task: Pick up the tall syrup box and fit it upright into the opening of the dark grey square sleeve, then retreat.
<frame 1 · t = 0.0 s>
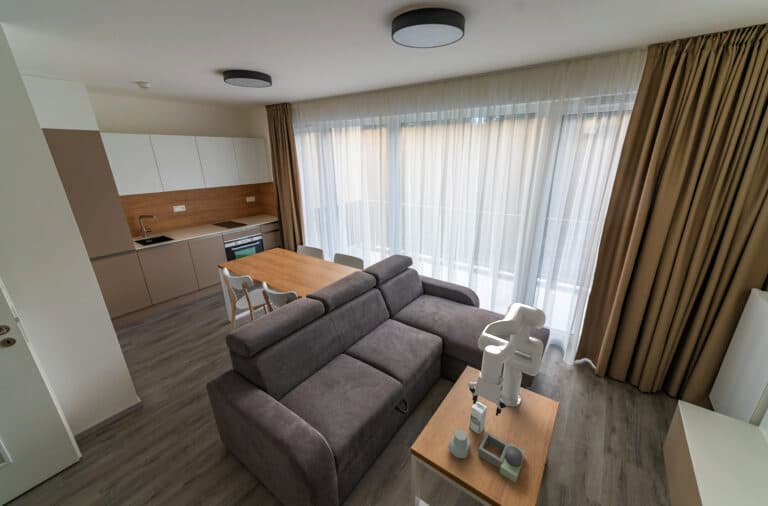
hand: (486, 407, 122), 31 cm above the table, tool pointing down, fingers open, 9 cm apart
air freshener: (459, 450, 136), on the table
syrup box: (476, 428, 147), on the table
grey square sleeve: (492, 453, 135), on the table
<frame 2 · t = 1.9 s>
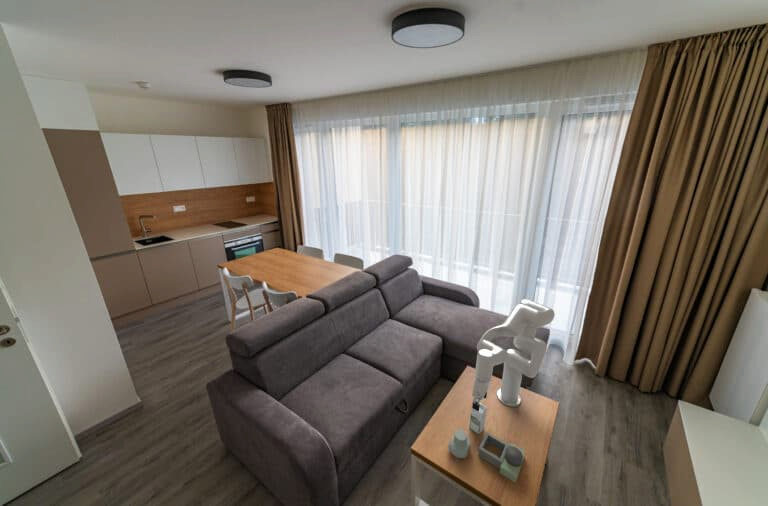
hand: (479, 403, 141), 17 cm above the table, tool pointing down, fingers open, 9 cm apart
nothing on the table moved.
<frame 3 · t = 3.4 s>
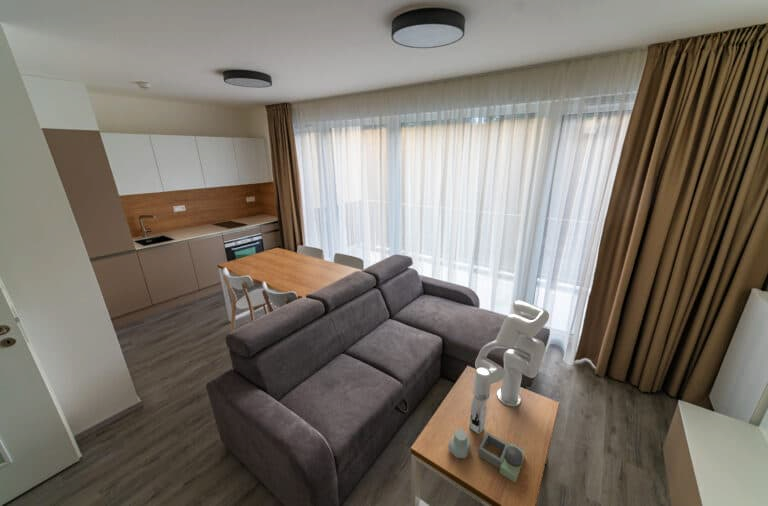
hand: (477, 419, 145), 6 cm above the table, tool pointing down, fingers closed on syrup box, 6 cm apart
syrup box: (476, 428, 147), on the table, touching gripper
everything else where it was.
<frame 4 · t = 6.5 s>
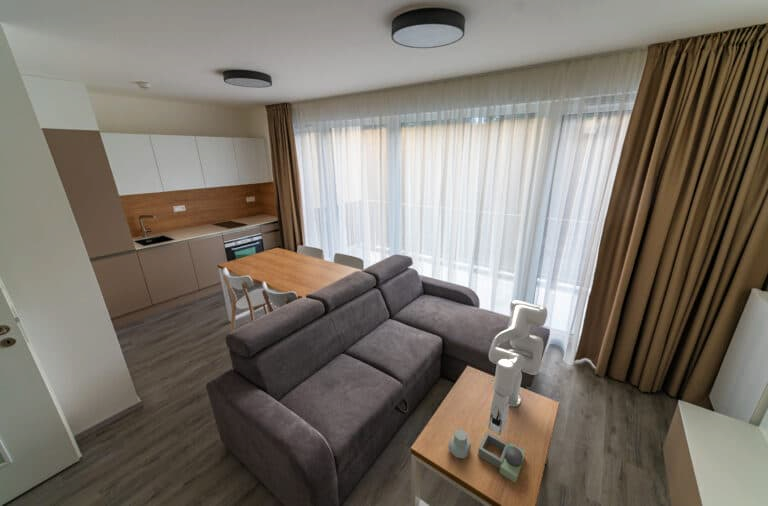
hand: (498, 418, 128), 21 cm above the table, tool pointing down, fingers closed on syrup box, 6 cm apart
syrup box: (496, 428, 130), point 15 cm above the table, touching gripper
everything else where it was.
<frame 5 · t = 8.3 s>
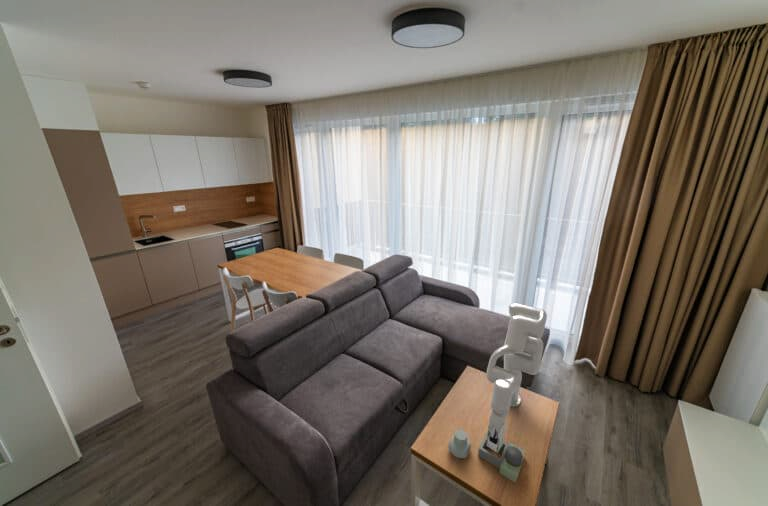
hand: (495, 436, 131), 11 cm above the table, tool pointing down, fingers closed on syrup box, 6 cm apart
syrup box: (494, 445, 133), point 5 cm above the table, touching gripper
everything else where it was.
when the fingers open (8 cm above the table, at t = 9.5 s): syrup box drops 2 cm, resting in grey square sleeve.
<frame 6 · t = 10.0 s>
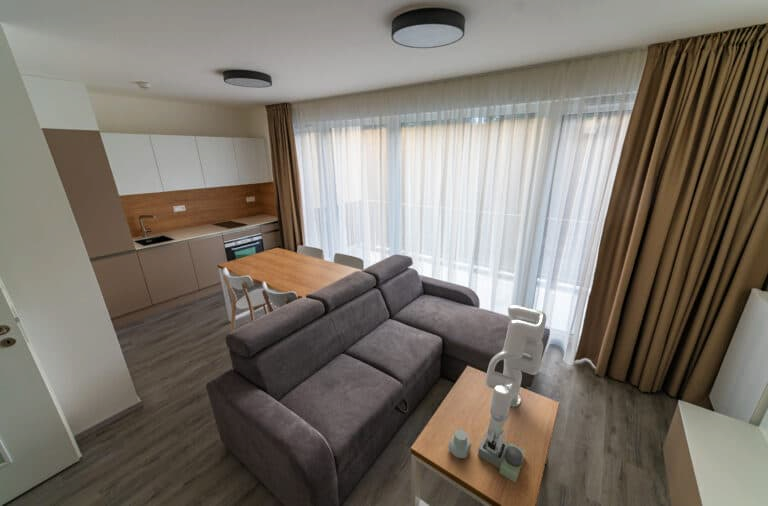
hand: (495, 439, 132), 9 cm above the table, tool pointing down, fingers open, 9 cm apart
syrup box: (492, 453, 135), resting in grey square sleeve
everything else where it was.
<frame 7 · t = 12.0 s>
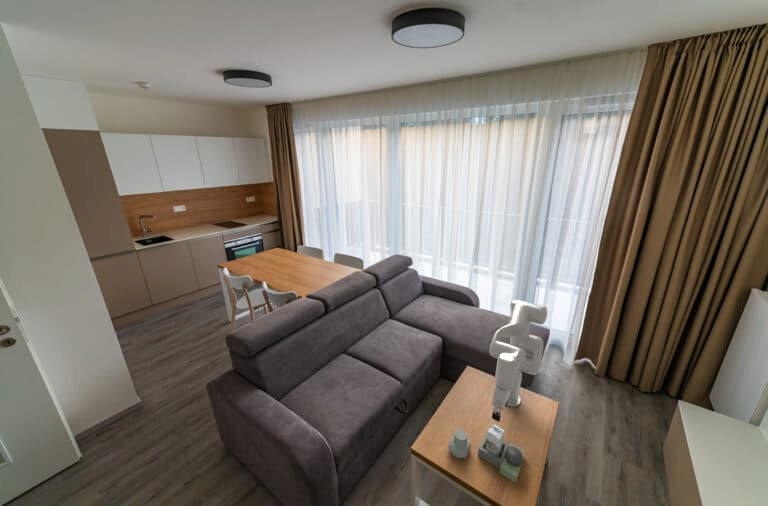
hand: (499, 412, 127), 25 cm above the table, tool pointing down, fingers open, 9 cm apart
nothing on the table moved.
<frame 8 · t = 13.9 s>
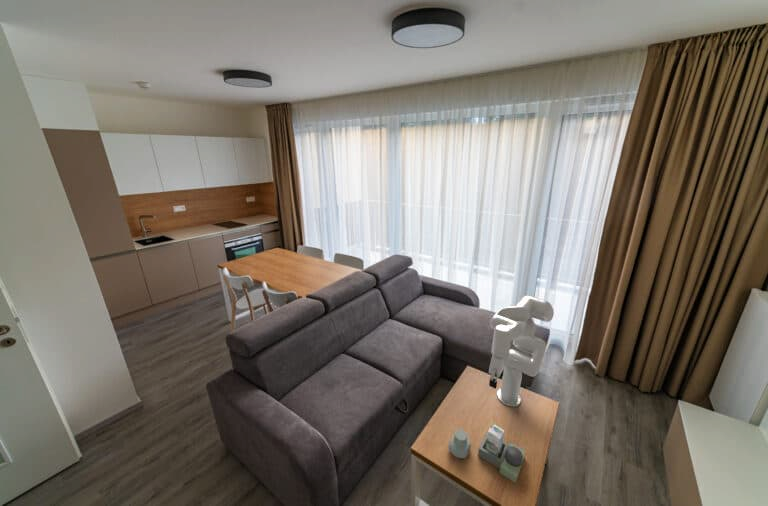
hand: (496, 380, 137), 30 cm above the table, tool pointing down, fingers open, 9 cm apart
nothing on the table moved.
at the end: syrup box 0.1 cm from the target spot, resting in grey square sleeve; syrup box tilted 0°; the gripper is holding nothing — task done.
